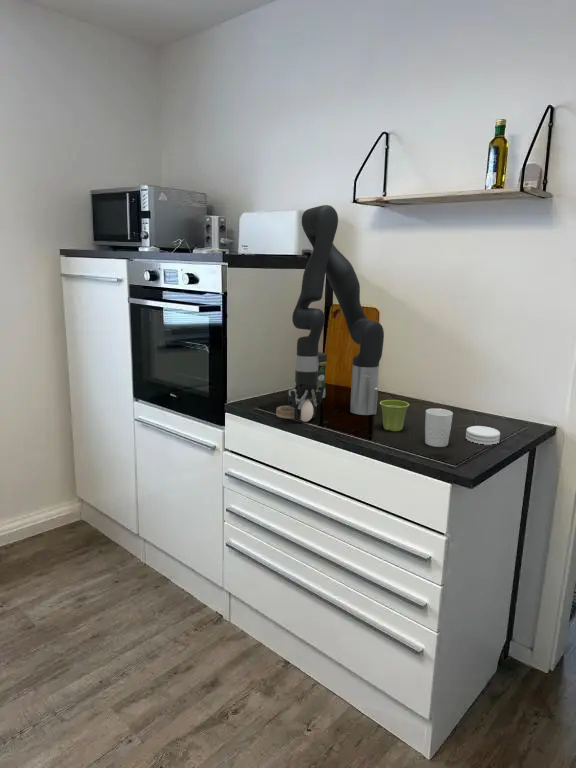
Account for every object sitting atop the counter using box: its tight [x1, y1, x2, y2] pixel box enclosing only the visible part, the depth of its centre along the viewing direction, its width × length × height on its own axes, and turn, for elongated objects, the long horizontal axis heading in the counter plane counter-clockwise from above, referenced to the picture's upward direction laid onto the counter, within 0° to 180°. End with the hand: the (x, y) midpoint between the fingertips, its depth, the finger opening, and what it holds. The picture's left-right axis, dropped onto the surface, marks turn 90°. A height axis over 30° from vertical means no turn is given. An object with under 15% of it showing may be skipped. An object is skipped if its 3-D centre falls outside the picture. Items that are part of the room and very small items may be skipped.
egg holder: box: [275, 405, 295, 420], centre depth 197 cm, size 9×9×2 cm
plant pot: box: [379, 399, 410, 432], centre depth 184 cm, size 9×9×9 cm
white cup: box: [424, 408, 454, 448], centre depth 170 cm, size 8×8×10 cm
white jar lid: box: [465, 425, 501, 446], centre depth 176 cm, size 10×10×4 cm
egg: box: [299, 398, 313, 423], centre depth 189 cm, size 6×6×8 cm
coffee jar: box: [315, 351, 328, 400], centre depth 221 cm, size 10×8×19 cm
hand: (304, 417), depth 190 cm, fingers closed on egg, 5 cm apart
